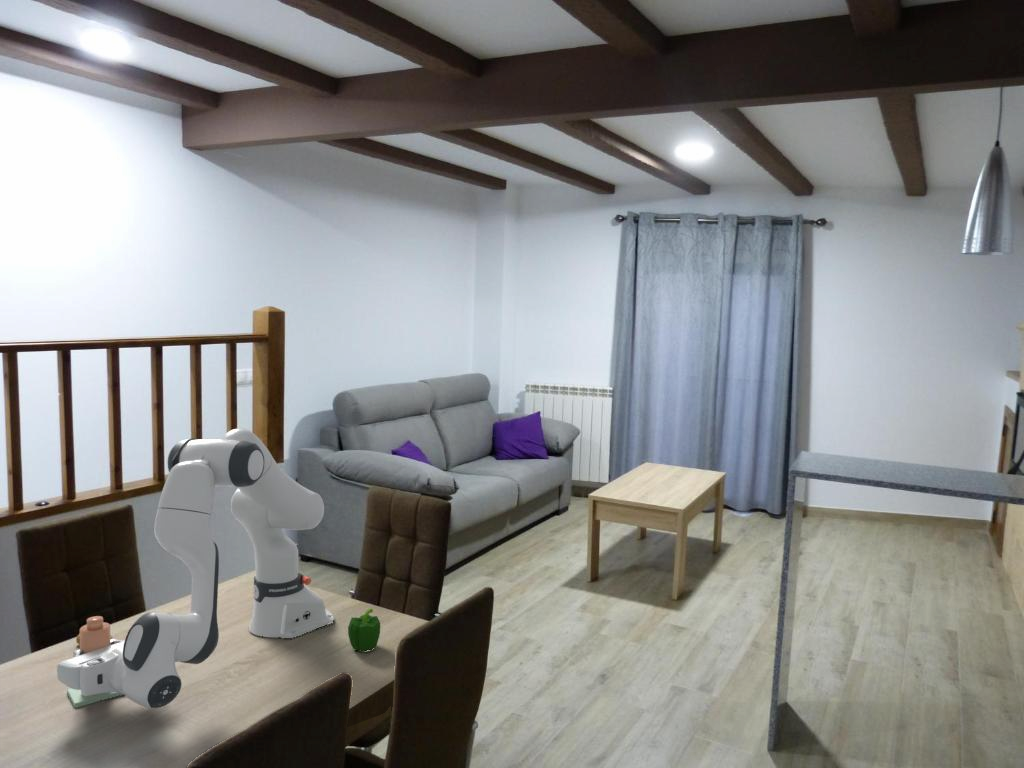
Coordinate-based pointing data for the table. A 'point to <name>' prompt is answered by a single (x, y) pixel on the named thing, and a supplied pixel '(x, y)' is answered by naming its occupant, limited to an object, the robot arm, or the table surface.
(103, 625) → the bottle
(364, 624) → the bell pepper
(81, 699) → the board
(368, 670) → the table surface
